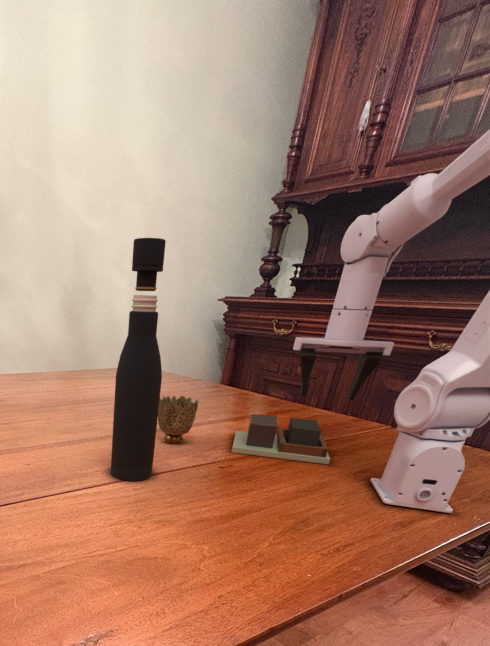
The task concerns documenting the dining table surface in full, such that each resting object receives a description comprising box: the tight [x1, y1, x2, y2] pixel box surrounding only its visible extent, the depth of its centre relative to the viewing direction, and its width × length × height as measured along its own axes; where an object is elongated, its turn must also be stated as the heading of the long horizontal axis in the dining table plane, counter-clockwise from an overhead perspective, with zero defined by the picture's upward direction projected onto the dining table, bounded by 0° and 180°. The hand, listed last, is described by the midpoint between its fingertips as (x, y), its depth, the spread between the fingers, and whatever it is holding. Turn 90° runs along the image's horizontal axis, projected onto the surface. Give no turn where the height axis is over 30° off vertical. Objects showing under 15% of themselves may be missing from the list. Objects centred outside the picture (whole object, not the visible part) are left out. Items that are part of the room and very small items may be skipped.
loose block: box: [285, 417, 322, 447], centre depth 77 cm, size 8×4×4 cm, turn 160°
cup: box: [157, 395, 200, 445], centre depth 80 cm, size 8×7×8 cm
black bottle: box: [110, 237, 167, 482], centre depth 59 cm, size 6×6×30 cm
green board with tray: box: [231, 413, 331, 465], centre depth 78 cm, size 12×16×5 cm
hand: (326, 396), depth 75 cm, fingers open, 7 cm apart
